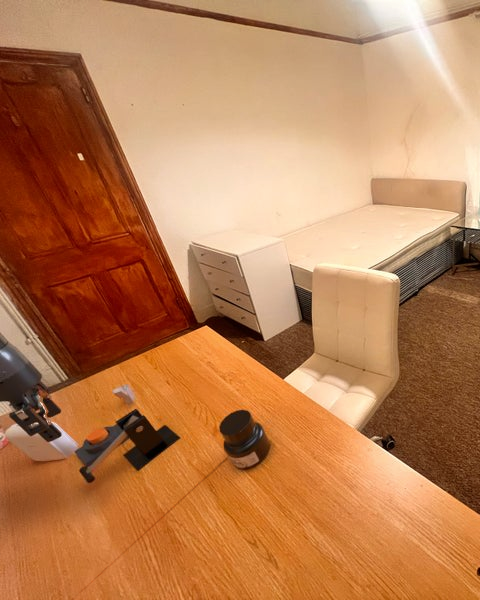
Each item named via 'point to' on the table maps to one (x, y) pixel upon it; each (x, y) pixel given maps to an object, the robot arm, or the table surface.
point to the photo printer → (42, 444)
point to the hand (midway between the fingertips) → (55, 425)
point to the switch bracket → (145, 439)
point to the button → (97, 436)
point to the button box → (98, 446)
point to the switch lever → (104, 454)
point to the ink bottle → (244, 439)
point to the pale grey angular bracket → (125, 393)
